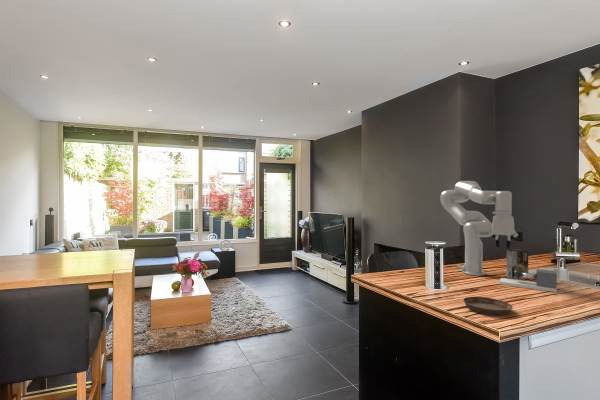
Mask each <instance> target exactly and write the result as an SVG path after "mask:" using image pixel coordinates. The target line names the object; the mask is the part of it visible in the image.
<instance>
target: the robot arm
mask: <svg viewBox="0 0 600 400" xmlns="http://www.w3.org/2000/svg"><path fill="white" fill-rule="evenodd" d="M512 195H513V193H512V192H511V191H509V190H482V187H481V186H480V185H479V183H478V182H477V181H474V180H459V181H458V182H456V183H455V185H454V189H447V190H444V191H442V192H441V194H440V197H439V199H440V203H441V205H442V207H443V208H444V210H446V211H447V212H448V213H449V214H450V215H451V216H452V218H453V219H455V221H456V223H458V224H459V225H460V226H463V229H462V230H463V236H464V264H463V265H461V264H457V265H456V268H457V269H460V270H461V269H462V270H461V273H463V274H465V275H469V276H477V277H478V276H480V277H481V276H486V272H485V271H483V261H484V260H483V257H484V255H483V254H484V253H483V251H484V250H483V249H484V248H483V247H484V244H483V242H482V239H481V238H489V237H492V238H494V239H495V246H496V247H497V248H499V247H500V239H499V236H500V235H501V236H507V240H506V248H507V249H510V248H509V247H511V241H513V239H515V238H516V237H519V234H518V233H517V231H516V230H515V220H514V216H512V211H513V210H512V206H513V205H512V203H513V202H512V201H513V196H512ZM469 200H471V201H472V202H475V203H477V204H481V205H495V206H494V207H495V208H494V211H492V212H491V213H492V214H493V216H492V217H493V218H492V222H491V221H490V220H489V219H488V218H487V217H486V216H485V215H484V214H483V213H482V212H480V211H478V210H468V209H465V208H464V206H462V205H461V204H459V203H466V202H468V201H469Z"/></svg>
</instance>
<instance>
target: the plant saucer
mask: <svg viewBox="0 0 600 400" xmlns="http://www.w3.org/2000/svg"><path fill="white" fill-rule="evenodd" d="M462 301H463V303H464V305H465V306H466V307H467V308H468V309H469V310H471V311H473V312H476V313H479V314H484V315H489V316H490V315H491V316H503V315H507V314H508V313H510V311H512V310H513V305H512V304H511V303H509V302H506V301H503V300H500V299H496V298H493V297H485V296H468V297H467V296H466V297H464V298H463V299H462Z"/></svg>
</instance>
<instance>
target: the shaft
mask: <svg viewBox="0 0 600 400" xmlns="http://www.w3.org/2000/svg"><path fill="white" fill-rule="evenodd" d="M519 277H525V278H528V279H533V280H534V279H535V280H536V279H537V273H530V272H528V273H521V272H519V270H517V269H515V273H514V278H515V279H514V280H520V279H519Z"/></svg>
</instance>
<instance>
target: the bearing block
mask: <svg viewBox="0 0 600 400" xmlns="http://www.w3.org/2000/svg"><path fill="white" fill-rule="evenodd" d="M536 274H537V279H535V280H536V281H535V282H536V285H537V286H540V287H548V288H556V289H557V290H558V288H557V279H558V277H557V274H558V273H557V271H556V270H548V269H538V268H536Z"/></svg>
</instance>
